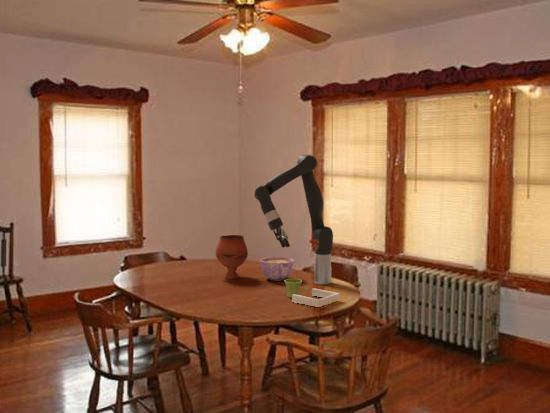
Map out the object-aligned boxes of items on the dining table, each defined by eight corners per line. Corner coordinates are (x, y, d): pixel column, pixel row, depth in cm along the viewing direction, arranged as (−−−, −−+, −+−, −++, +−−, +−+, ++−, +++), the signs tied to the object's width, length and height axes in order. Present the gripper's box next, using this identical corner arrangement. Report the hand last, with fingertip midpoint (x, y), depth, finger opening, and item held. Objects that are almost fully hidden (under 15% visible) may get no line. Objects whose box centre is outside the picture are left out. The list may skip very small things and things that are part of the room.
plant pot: (287, 299, 289) (287, 283, 288) (281, 295, 298) (282, 279, 297) (304, 298, 291) (304, 282, 290) (298, 294, 300) (299, 278, 299)
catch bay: (313, 295, 297) (313, 288, 297) (339, 301, 286) (339, 293, 286) (292, 302, 283) (292, 294, 283) (318, 308, 273) (318, 300, 272)
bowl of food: (290, 283, 324) (290, 264, 323) (256, 282, 328) (256, 262, 327) (296, 276, 343) (296, 257, 342) (264, 274, 347) (264, 256, 346)
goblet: (249, 274, 349) (249, 234, 347) (245, 281, 330) (245, 238, 327) (219, 273, 351) (219, 233, 348) (212, 280, 332) (212, 238, 329)
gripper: (276, 216, 298) (289, 244, 295) (283, 217, 312) (295, 243, 309) (263, 222, 299) (276, 250, 297) (271, 223, 313) (283, 249, 310)
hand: (286, 246), depth 303 cm, fingers open, 8 cm apart
